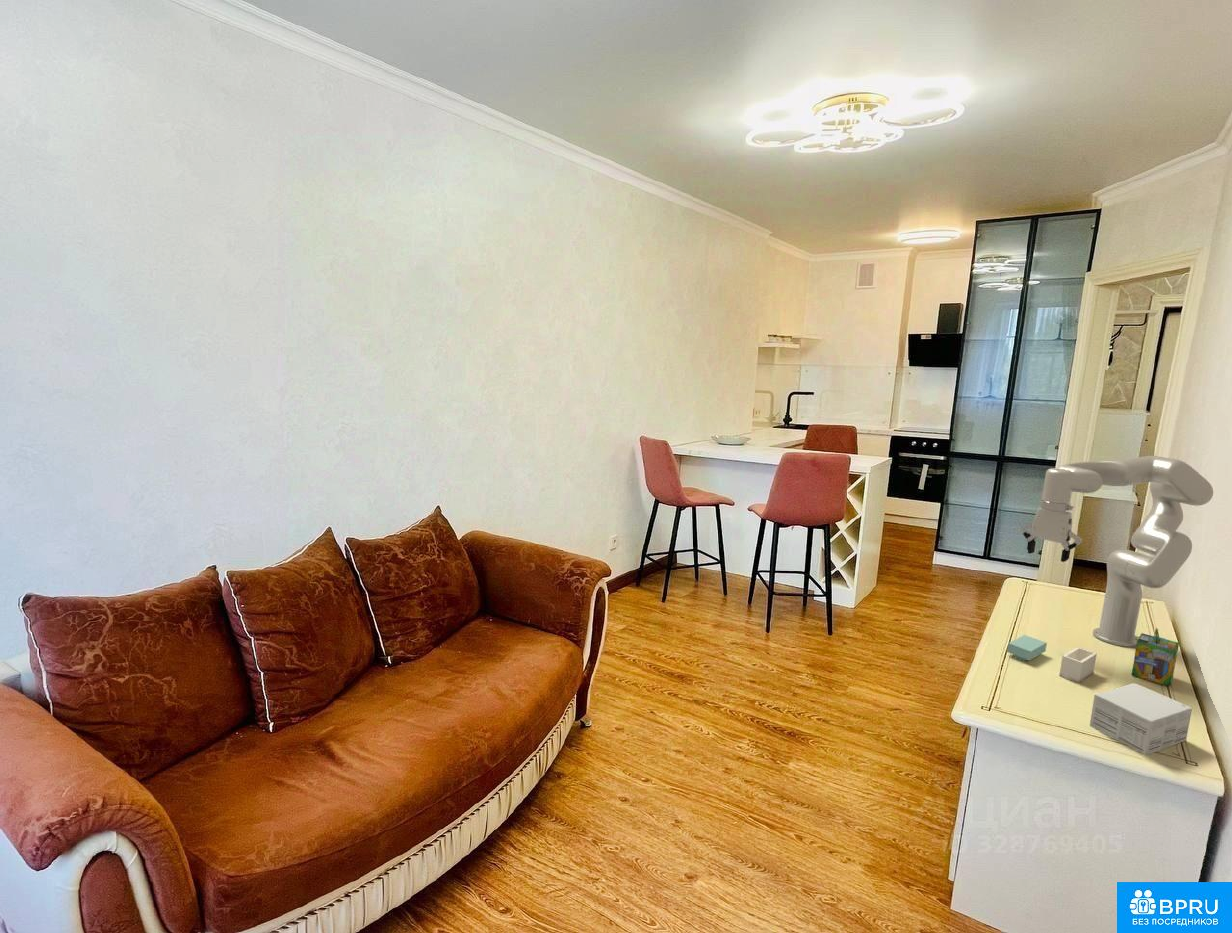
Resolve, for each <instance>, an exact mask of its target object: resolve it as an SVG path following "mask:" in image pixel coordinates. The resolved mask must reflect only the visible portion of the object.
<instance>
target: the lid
mask: <svg viewBox="0 0 1232 933" xmlns="http://www.w3.org/2000/svg"><path fill="white" fill-rule="evenodd" d="M1047 644H1048V642H1046V641H1043V640H1041V639H1037V638H1034V637H1032V636H1029V635H1027V634H1024V635H1022V636H1020V637H1017V638H1016V639H1014V640H1011V641H1010V642H1008V644H1007V650H1006V652H1007V653H1009V654H1011V655H1014V656H1013V657H1014V658H1016V659H1017V660H1019V661H1024V662H1026V661H1027V660H1028V661H1031V660H1033V659H1035V658H1037V657H1038V656H1039V655H1041V654H1043V653H1045V652H1046V650H1047Z"/></svg>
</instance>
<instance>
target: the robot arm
mask: <svg viewBox="0 0 1232 933" xmlns="http://www.w3.org/2000/svg"><path fill="white" fill-rule="evenodd" d="M1044 476H1045V477H1044V482H1043V489H1042V495H1041V496H1042V497H1041V501H1040V502H1041V503H1040V507H1038V508H1037V511H1036V513H1035V516H1034V518H1033V522H1032V523H1031V524H1026V525H1025V524H1024V525H1021V526H1020V529H1021V531H1022V534H1023V535H1022V536H1024V538H1025V539H1026V542H1027V546H1026V550H1027V554H1033V553H1035V548H1036V539H1040V540H1045V541H1048V542H1054V543H1056V544H1057V543H1058V544H1061V546H1062V547H1063V549H1062V550H1061V557H1060V561H1061V562H1062V563H1064V562H1066V561H1067V562H1068V560H1069V559H1070V556H1071V550H1072V549H1075V548H1076V547H1078V546H1079V545H1080V544H1081V542H1082V541H1083V538H1082V537H1080V536H1079V535H1077V534H1076V533H1075V532H1073V515H1072V512H1070V511H1075V506H1074V505H1073V506H1072V504H1071V498H1072V493H1074V492H1075V493H1081V494H1093V493H1096V492H1098V491H1099V490H1100V489H1101V488H1102V486H1107V487H1109V486H1111V487H1126V486H1133V485H1140V484H1146V483H1149V490H1150V493H1151V497H1152V507H1151V510H1150V512H1149V513H1148V514H1147V516H1146V517H1145V518H1144V519H1143V521H1142V522H1141V524H1140V525H1139V526H1138V527H1137V528H1136V530H1135V531H1134V532H1133V534H1132V536H1131V538H1130V543H1131V545H1132V547H1134V548H1135V549H1137V550H1138V551H1140V552H1144V553H1147V554H1148V555H1146V554H1143V553H1139V552H1137V551H1134V550H1130V549H1116V550H1114V551H1112V552H1111V553H1110V554H1109V555H1108V557H1107V560H1106V571H1107V572H1106V573H1107V576H1106V577H1107V581H1106V588H1105V593H1104V599H1103V605H1102V609H1101V617H1100V622H1099V627H1097V628H1094V629H1093V630H1092V635H1093V636H1094V637H1095V638H1097V639H1099V640H1100V641H1103V642H1105V643H1108V644H1111V645H1116V646H1118V647H1119V646H1120V647H1124V648H1125V647H1126V648H1134V647H1135V648H1136V644H1137V640H1138V639H1139V638H1138V637H1136V630H1137V624H1138V619H1139V614H1140V610H1141V604H1142V599H1143V598H1142V597H1143V588H1142V586H1144V587H1147V588H1150V589H1160V588H1163V587H1165V586H1166V585H1167V584H1168V583H1169V582H1170V581H1171V580H1172V579H1173V577H1174V576H1175V575H1176V573H1178V571H1179V570H1180V569H1181V568H1182V567H1183V565H1184V564H1185V562H1187V560H1188V559H1189V557H1190V555H1191V554H1192V550H1193V543H1192V540H1191V538H1190V537H1189V536H1188V535H1186V534H1184V533H1182V532H1179V531H1177V530H1178V528H1180V526H1181V524H1182V522H1183V520H1184V513H1183V509H1182V505H1181V504H1185V505H1189V506H1195V507H1199V506H1204V505H1206V504H1208V503H1209V502H1210V501H1211V500H1212V498H1213V496H1214V489H1213V486H1212V484H1211V483H1210V482H1209V481H1208V480H1207V479H1206V478H1205V477H1204V476H1203V475H1202V474H1200V472H1198V471H1197V470H1196V469H1195V468H1193V466H1191V465H1190V464H1188V463H1186V462H1185V461H1183V460H1180V459H1177V458H1170V457H1164V456H1163V457H1162V456H1159V455H1158V456H1157V455H1147V456H1140V457H1133V458H1128V459H1127V458H1126V459H1119V460H1102V461H1099V460H1098V461H1081V462H1080V461H1078V462H1073V463H1067V464H1066V463H1065V464H1062V465H1059V466H1058V467H1057V468H1056V467H1051V468H1049V469H1047V470H1046V471H1045V475H1044ZM1029 529H1031V533H1030V532H1029ZM1072 539H1073V540H1074V541H1073V543H1070V541H1071V540H1072ZM1149 554H1150V555H1153V557H1151V556H1149ZM1141 585H1142V586H1141Z"/></svg>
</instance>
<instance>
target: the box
mask: <svg viewBox="0 0 1232 933" xmlns="http://www.w3.org/2000/svg"><path fill="white" fill-rule="evenodd" d="M1061 658H1062V659H1061V663H1060V664H1061V665H1060V668H1059V674H1058V676H1059V677H1062V678H1064V679H1067V680H1070V681H1073V682H1075V683H1078V684H1079V683H1081V682H1083V681H1084V680H1086V679H1088V677H1090V676H1091V675H1093V674H1094V672H1095V668H1096V667H1095V666H1096V661H1097V653H1096V652H1093V651H1091V650H1087V649H1084V648H1081V647H1079V646H1077V647H1075V648H1073V649H1071V650H1070V651H1068V652H1066V653H1065V654H1063V655H1062V656H1061Z"/></svg>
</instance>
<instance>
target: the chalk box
mask: <svg viewBox="0 0 1232 933" xmlns="http://www.w3.org/2000/svg"><path fill="white" fill-rule="evenodd" d="M1137 639H1138V640H1137V644H1136V646H1135V652H1134V659H1133V664H1132V670H1131V677H1135V678H1139V679H1143V680H1145V681H1150V682H1153V683H1156V684H1160V685H1162V686H1166V687H1169V686H1170V687H1171V686H1172V684H1173V679H1174V673H1175V667H1176V662H1177V656H1178V651H1179V647H1180V643H1179V642H1177V641H1174V640H1170V639H1167V638H1164V637H1160V634H1159V628H1157V627H1156V628H1155V631H1154V635H1151V634H1146V633H1143V632H1142V633H1141V634H1140V636H1139V637H1138V638H1137Z"/></svg>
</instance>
